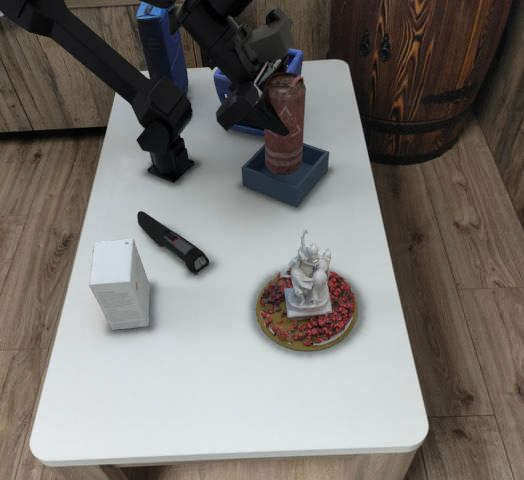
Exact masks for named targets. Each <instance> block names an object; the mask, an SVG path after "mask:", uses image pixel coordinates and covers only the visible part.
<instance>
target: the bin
mask: <svg viewBox="0 0 524 480" xmlns="http://www.w3.org/2000/svg"><path fill="white" fill-rule="evenodd" d="M329 160H330V150H329V151H328V150H325V149H323V148H319V147H316V146H314V145H311V144H308V143H305V142H303V152H302V164H301V166H300V167H299V168H298V170H297V171H295V172H294V173H292V174H288V175H278V174H275V173H273V172H271V171H270V170H269V169H268V167H267V166H266V163H265V143H263V145H261V147H260V148H259V149H258V150H257V151H255V153H253V155H252V156H251V157H250V158H249V159H248V160H247V161H246V162H245V163H244V164H243V165H242V166H241V167H240V169H241V177H242V178H241V181H242V187H244V188H246V189H249V190H252V191H254V192H257V193H259V194H262V195H264V196H266V197H269V198H271V199H274V200H276V201H279V202H282V203H284V204H287V205H289V206H291V207H294V208H298V207H299V206H300V204H301V203H302V202H303V201H304V200H305V199H306V198H307V196H308V195H309V194H310V192H311V191H312V190H313V189H314V188H315V187H316V185H317V184H318V183H319V182H320V181H321V179H322V178H323V177H324V176H325V175H326V173H328V170H329V162H330V161H329Z"/></svg>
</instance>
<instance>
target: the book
mask: <svg viewBox="0 0 524 480" xmlns="http://www.w3.org/2000/svg"><path fill="white" fill-rule="evenodd" d="M174 5H175V6H176V2H175V3H174V4H173V5H172V6H171V7H169V8H167V9H160V8H157V7H154V6H152V5H149V4H147V3H144V2H142V1H140V4H139V6H138V10H137V11H136V17H135V18H136V24H137V31H138V35H139V40H140V43H141V48H142V53H143V55H144V60H145V64H146V69H147V72H148V78H149V79H151V80H155V81H160V80H161V79H162V77H163V76H165V77H167V78H169V79H170V80H171V81H172V82H173V84H174V85H175V86H176V87H178V88H179V89H181V90H183V91H185V94H184V95H185V96H186V97H187V95H188V92H189V91H188V88H189V75H188V68H187V62H186V58H185V52H184V46H183V42H182V35H181V31H180V29H179V30H178V31H177V32H176V33H175V34H174V35H170V33H169V18H168V14H167V13H168V11H169V10H170V9H171V8H172V7H173V6H174Z"/></svg>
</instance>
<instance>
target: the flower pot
mask: <svg viewBox="0 0 524 480" xmlns="http://www.w3.org/2000/svg"><path fill="white" fill-rule="evenodd" d="M287 55H288V56H289V60H288V63H287V72H290V73H294V74H297V75H299V76H302V70H303V62H304V52H303V50H301V49H295V48H290V49H289V53H288V54H287ZM287 55H286V56H287ZM286 56H285V57H286ZM285 57H283V58H281V61H282V60H283V59H284V58H285ZM213 82H214V87H215V90H216V91H215V92H216V94H217V97H218V100H219V102H220V105H221V104H222V103H223V101H224V100H225V99H226V98H227V97H228V96H229V95H230V94H231V92H230V90H229V89H228V87H229V85H230V84H231V82H230V81H229V80H228V79H227V78H226V76H225V75H224V74H223V73H222V72H221V71H220V70H219V68H218V67H217V69H216V70H215V71H214V73H213ZM260 82H261V81H260ZM251 83H252V82H251ZM258 85H259V84H258ZM259 90H260V89H259ZM260 91H261V90H260ZM261 92H262V91H261ZM262 93H263V92H262ZM229 130H231V131H235V132H239V133H243V134H248V135H253V136H256V137H261V138H265V129H264V128H262V127H259V126H256V125H253V124H250V123H246V122H243V121H241V122H240V123H238V122H237V123H236V124H235V125H234V126H233V127H231V128H230V129H229Z"/></svg>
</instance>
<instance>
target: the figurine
mask: <svg viewBox="0 0 524 480" xmlns="http://www.w3.org/2000/svg"><path fill="white" fill-rule="evenodd" d="M308 230H309V228H307V229H305V228H304V229H303V231H302V236H301V237H300V239H301V240H300V246H299V247H298V249H297V255H295V256H294V257H292V258H291V259H290V261H289V262H288V265H287V267H285V269H284V270H282V272H281V271H279V273H276V275H277V276H276V277H274V278H272V279H270V281H269V282H268V283H267V284H266V285H265V286H264V287H263V288H262V290H261V291H260V293H259V295H258V297H257V299H256V304H255V313H256V314H255V315H256V320H257V322H258V325H259V326H260V328H261V330H262V332H263V333H264V334H265V335H266V336H267V337H268V338H269V339H270V340H271V341H273V342H275V343H276V344H278V345H279V346H282V347H285V348H287V349H290V350H294V351H298V352H300V351H301V352H315V351H316V352H317V351H321V350H326V349H329V348H331V347H333V346H336V345H337V344H338V343H340V342H342V341H343V340H345V339H346V337H348V335H350V333H351V332H352V330H353V329H354V327H355V325H356V322H357V320H358V319H357V318H358V313H359V311H358V308H359V307H358V302H357V299H356V294H355V293H354V292H353V291H352V290H351V288H352V287H351V285H350V282H348V283H347V282H346V279H345V278H344V277H342V276H341V275H339V274H338V272H336V271H330V264H331V261H332V252H331V251H330V248H326V249H325V252H323V253H322V255H321V254H320V252H319V251H320V250H319V246H318V245H317V243H316V242H314V241H313V242H312V243H311V244H310V245H309V247H308V246H306V245H305V244H306V243H305V235H307V234H309V231H308Z"/></svg>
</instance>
